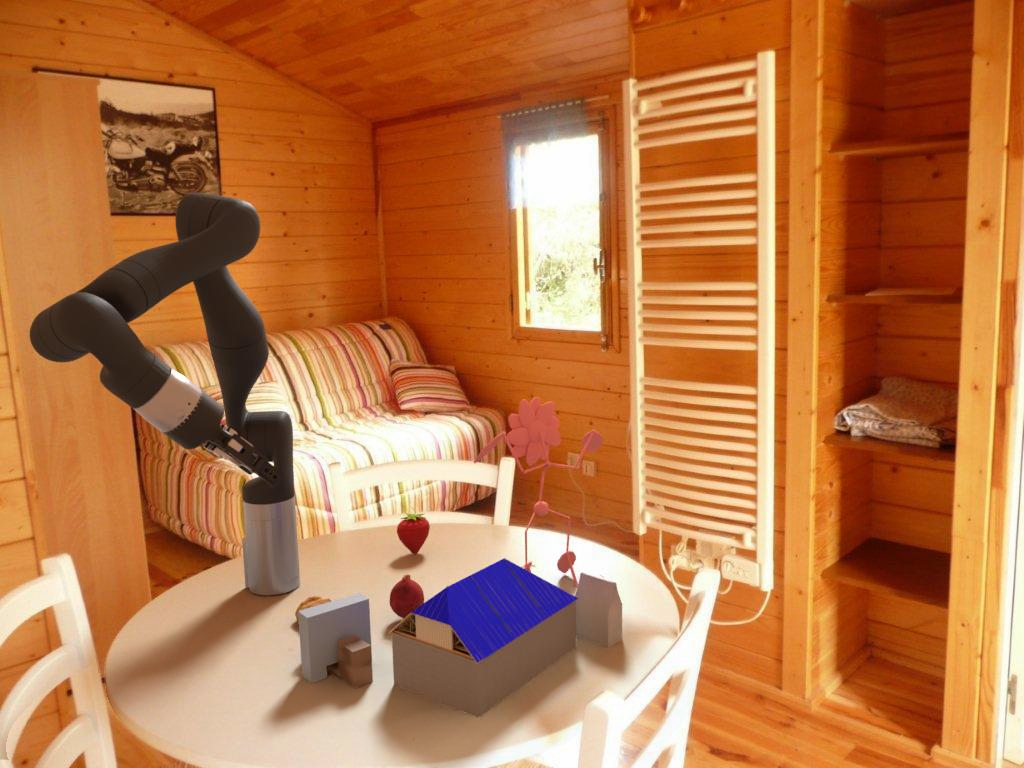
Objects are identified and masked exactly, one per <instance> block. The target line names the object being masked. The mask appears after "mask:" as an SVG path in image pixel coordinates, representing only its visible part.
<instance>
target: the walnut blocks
mask: <svg viewBox="0 0 1024 768" xmlns="http://www.w3.org/2000/svg"><path fill="white" fill-rule="evenodd" d="M337 647H338V662H336V663H334V664H331V665H328V666H326V667H327V669H329V670H330V671H331V672H332V673H334V675H337V676H338V677H339V678H340V679H342V680H343V681H344V682H346V683H347V684H348V685H350V687H352V688H353V689H356V688H359V687H361V686H364V685H366V684H369V683H372V682H374V679H373V657H372V656H373V655H371V650H372V644H371V645H370V644H368V643H367V642H365V641H364V640H362V639H361V638H359V637H358V636H356V635H354V636H351V637H348V638H345V639H343V640H340V641H337Z"/></svg>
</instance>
